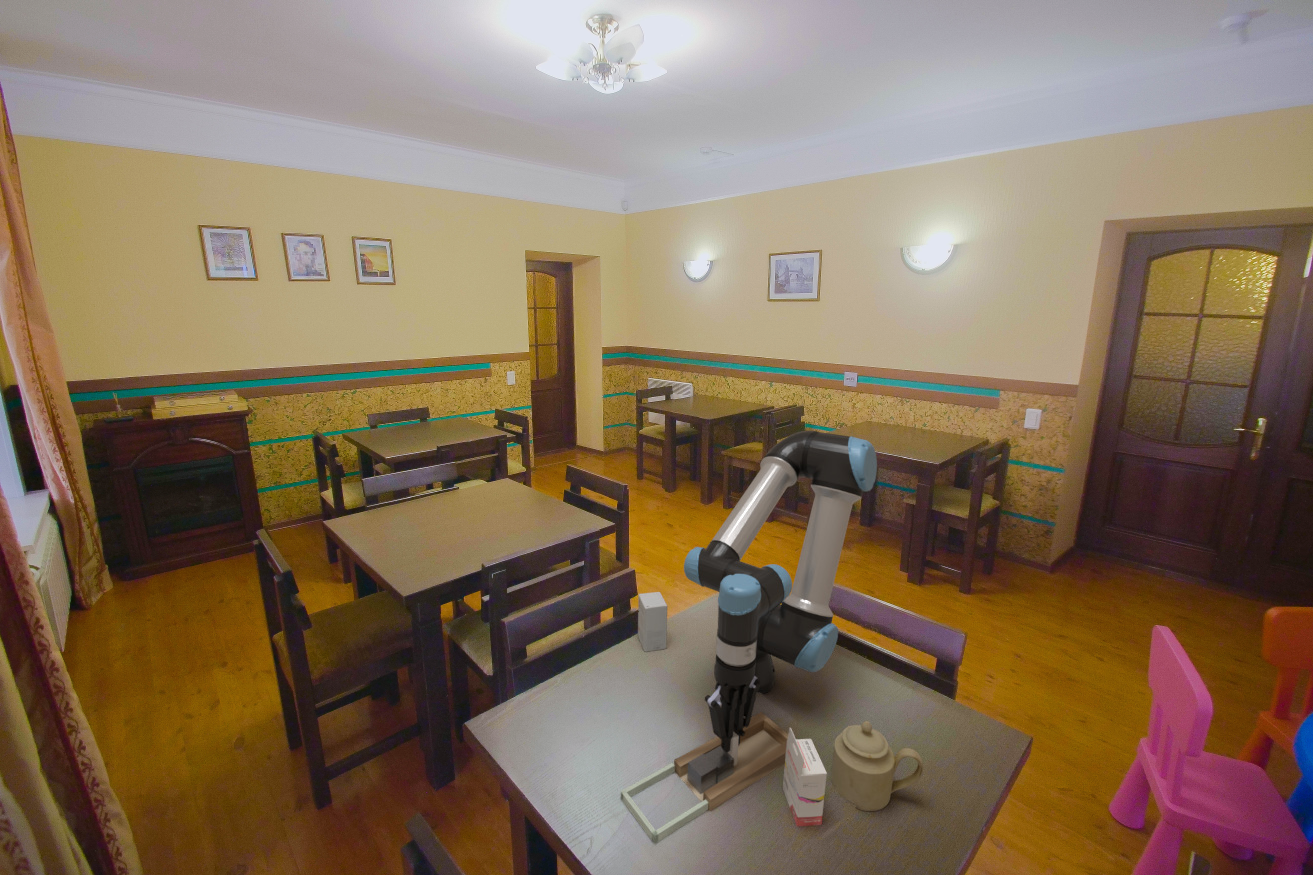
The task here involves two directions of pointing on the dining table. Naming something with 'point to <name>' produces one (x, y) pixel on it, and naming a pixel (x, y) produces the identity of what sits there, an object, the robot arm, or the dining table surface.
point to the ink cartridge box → (804, 781)
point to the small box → (652, 621)
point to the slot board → (741, 760)
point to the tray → (652, 833)
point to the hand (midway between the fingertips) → (729, 760)
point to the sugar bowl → (868, 767)
